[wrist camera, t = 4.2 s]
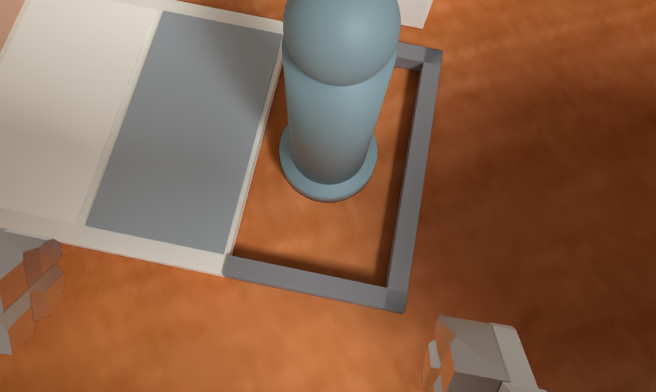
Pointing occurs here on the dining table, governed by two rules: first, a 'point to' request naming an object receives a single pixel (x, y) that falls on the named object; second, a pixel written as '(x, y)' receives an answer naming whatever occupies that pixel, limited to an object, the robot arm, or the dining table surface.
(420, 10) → the die
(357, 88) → the pawn
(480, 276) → the dining table surface
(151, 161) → the game board
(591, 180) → the dining table surface
